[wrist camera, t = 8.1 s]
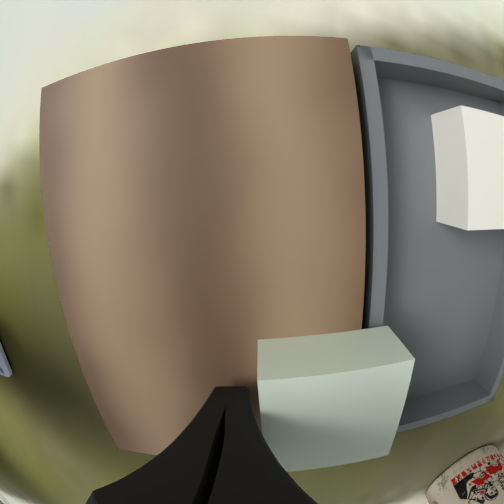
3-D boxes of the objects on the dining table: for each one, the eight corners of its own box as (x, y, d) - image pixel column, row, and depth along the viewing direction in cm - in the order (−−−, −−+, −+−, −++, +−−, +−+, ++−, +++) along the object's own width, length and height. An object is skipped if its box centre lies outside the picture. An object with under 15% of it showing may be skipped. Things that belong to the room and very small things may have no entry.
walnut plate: (133, 416, 16) (117, 448, 13) (77, 101, 12) (41, 88, 9) (333, 414, 15) (343, 451, 12) (329, 66, 11) (347, 38, 8)
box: (341, 413, 15) (350, 443, 13) (340, 66, 11) (356, 45, 9) (474, 379, 15) (493, 399, 12) (497, 96, 11) (524, 89, 8)
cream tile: (533, 227, 9) (502, 220, 12) (529, 124, 8) (499, 128, 11) (467, 230, 10) (436, 221, 12) (460, 105, 8) (430, 115, 11)
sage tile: (265, 431, 12) (266, 473, 9) (257, 339, 11) (257, 380, 8) (372, 417, 12) (388, 454, 9) (387, 325, 10) (415, 358, 8)
